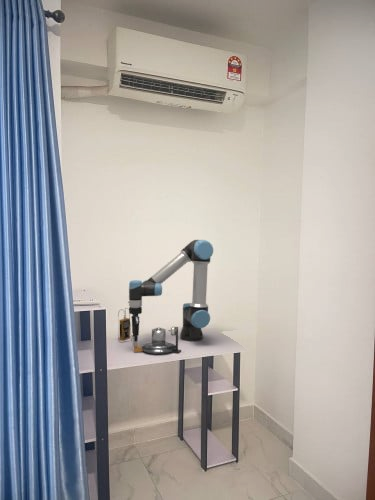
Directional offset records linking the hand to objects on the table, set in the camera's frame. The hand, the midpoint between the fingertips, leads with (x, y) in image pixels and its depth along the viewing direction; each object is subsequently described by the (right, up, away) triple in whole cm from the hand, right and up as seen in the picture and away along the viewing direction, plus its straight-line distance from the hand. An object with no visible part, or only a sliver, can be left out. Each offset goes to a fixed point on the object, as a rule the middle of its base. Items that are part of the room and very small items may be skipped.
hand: (135, 346), depth 217 cm
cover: (+14, 0, -3) cm, 14 cm away
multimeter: (-7, -1, +18) cm, 19 cm away
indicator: (+23, -2, -6) cm, 24 cm away
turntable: (+12, -1, -3) cm, 12 cm away
